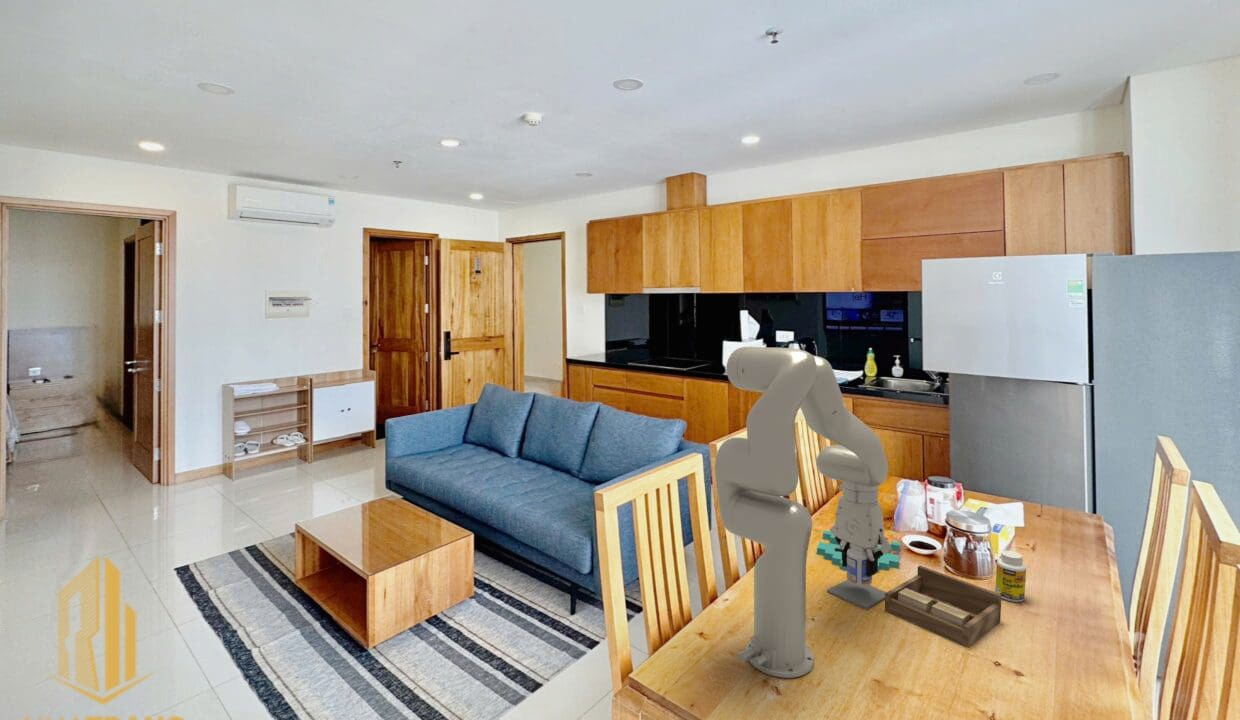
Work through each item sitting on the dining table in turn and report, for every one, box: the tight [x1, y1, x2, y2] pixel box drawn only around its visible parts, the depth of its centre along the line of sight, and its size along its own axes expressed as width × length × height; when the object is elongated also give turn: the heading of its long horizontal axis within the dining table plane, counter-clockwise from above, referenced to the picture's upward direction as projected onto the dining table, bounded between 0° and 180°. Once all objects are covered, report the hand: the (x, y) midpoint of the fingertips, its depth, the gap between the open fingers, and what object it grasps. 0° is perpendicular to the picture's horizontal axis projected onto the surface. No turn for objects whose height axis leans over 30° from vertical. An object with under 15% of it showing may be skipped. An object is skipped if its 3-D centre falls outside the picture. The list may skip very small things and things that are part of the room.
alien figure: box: [816, 530, 901, 573], centre depth 150 cm, size 20×2×20 cm
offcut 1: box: [898, 588, 934, 615], centre depth 121 cm, size 3×6×4 cm, turn 35°
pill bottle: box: [846, 543, 873, 586], centre depth 130 cm, size 5×5×10 cm
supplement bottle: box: [994, 550, 1027, 603], centre depth 128 cm, size 6×6×10 cm
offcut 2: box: [932, 601, 970, 628], centre depth 115 cm, size 3×6×4 cm, turn 35°
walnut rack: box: [884, 565, 1002, 648], centre depth 121 cm, size 15×17×6 cm
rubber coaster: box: [826, 579, 887, 611], centre depth 131 cm, size 10×10×1 cm
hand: (859, 569), depth 130 cm, fingers closed on pill bottle, 5 cm apart
